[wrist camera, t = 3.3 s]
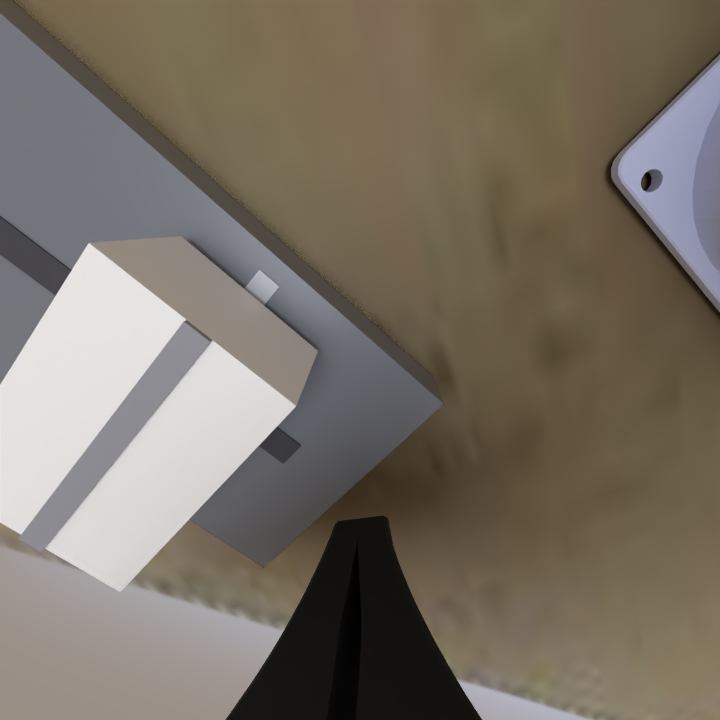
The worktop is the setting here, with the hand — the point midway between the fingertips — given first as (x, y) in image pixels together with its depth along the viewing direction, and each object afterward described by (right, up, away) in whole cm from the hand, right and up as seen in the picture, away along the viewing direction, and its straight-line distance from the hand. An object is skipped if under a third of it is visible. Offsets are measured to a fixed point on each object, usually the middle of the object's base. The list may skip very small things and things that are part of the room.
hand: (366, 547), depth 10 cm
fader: (-5, +4, 0) cm, 6 cm away
